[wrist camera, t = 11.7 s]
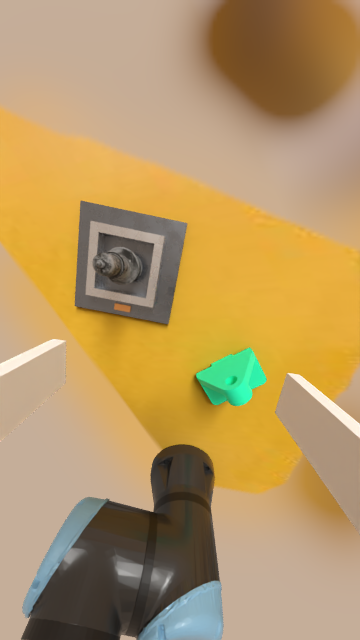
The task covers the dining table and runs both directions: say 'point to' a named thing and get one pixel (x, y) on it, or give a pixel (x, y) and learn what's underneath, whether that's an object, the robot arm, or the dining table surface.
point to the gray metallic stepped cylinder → (118, 265)
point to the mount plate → (144, 241)
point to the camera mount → (232, 378)
